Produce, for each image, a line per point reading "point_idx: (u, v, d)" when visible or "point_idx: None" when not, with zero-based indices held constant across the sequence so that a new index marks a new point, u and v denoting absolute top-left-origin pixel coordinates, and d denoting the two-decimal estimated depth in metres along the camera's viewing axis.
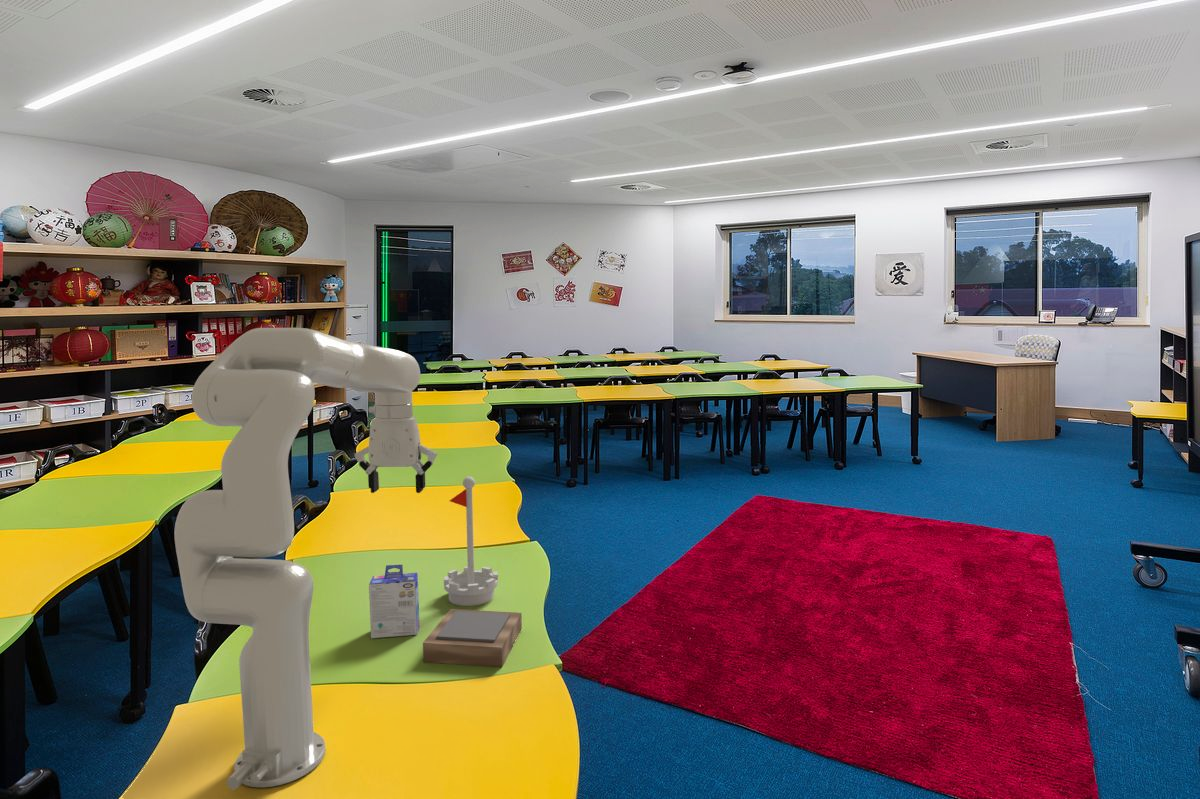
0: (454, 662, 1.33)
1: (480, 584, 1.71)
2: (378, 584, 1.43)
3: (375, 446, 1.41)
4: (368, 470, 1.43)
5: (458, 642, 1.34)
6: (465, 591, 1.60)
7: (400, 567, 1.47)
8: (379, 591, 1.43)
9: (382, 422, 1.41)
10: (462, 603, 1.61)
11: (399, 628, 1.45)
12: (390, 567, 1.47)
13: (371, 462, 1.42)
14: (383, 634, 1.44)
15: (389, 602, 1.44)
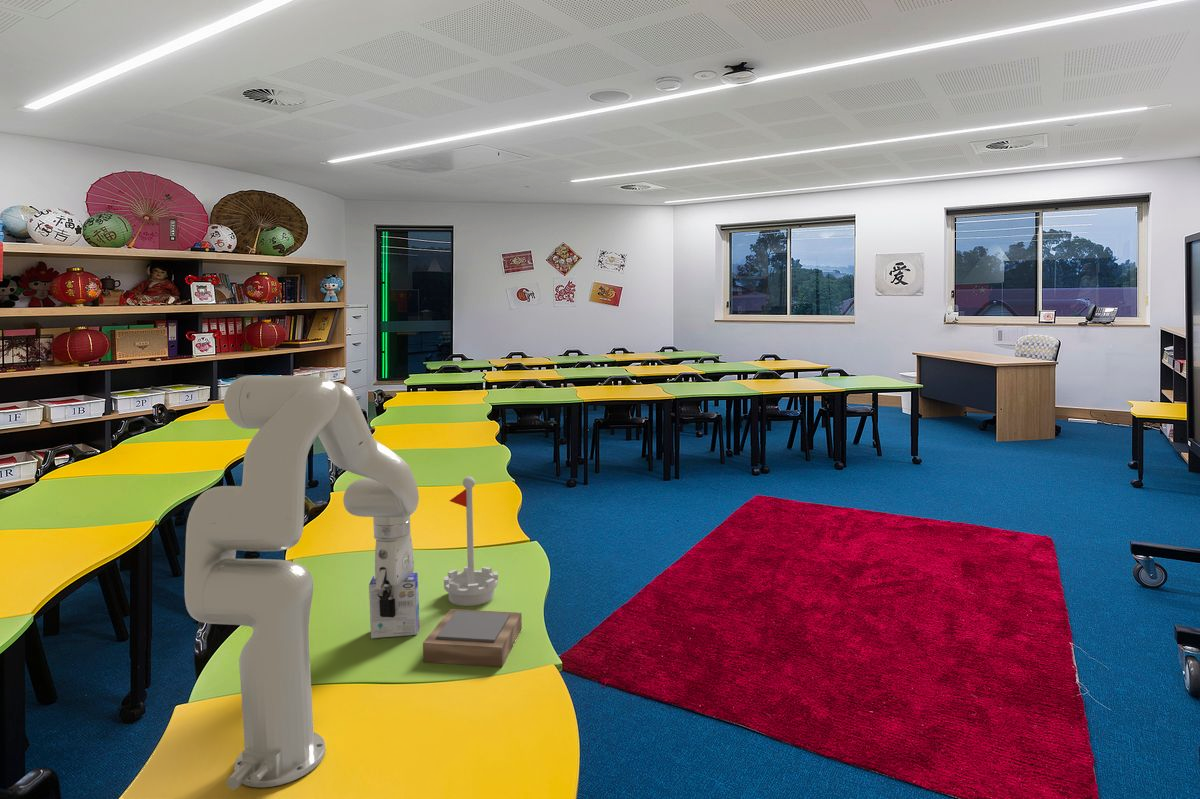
0: (454, 662, 1.33)
1: (480, 584, 1.71)
2: None
3: (398, 566, 1.42)
4: (391, 596, 1.42)
5: (458, 642, 1.34)
6: (465, 591, 1.60)
7: None
8: None
9: (400, 540, 1.43)
10: (462, 603, 1.61)
11: (399, 628, 1.45)
12: None
13: (397, 583, 1.41)
14: (383, 634, 1.44)
15: None
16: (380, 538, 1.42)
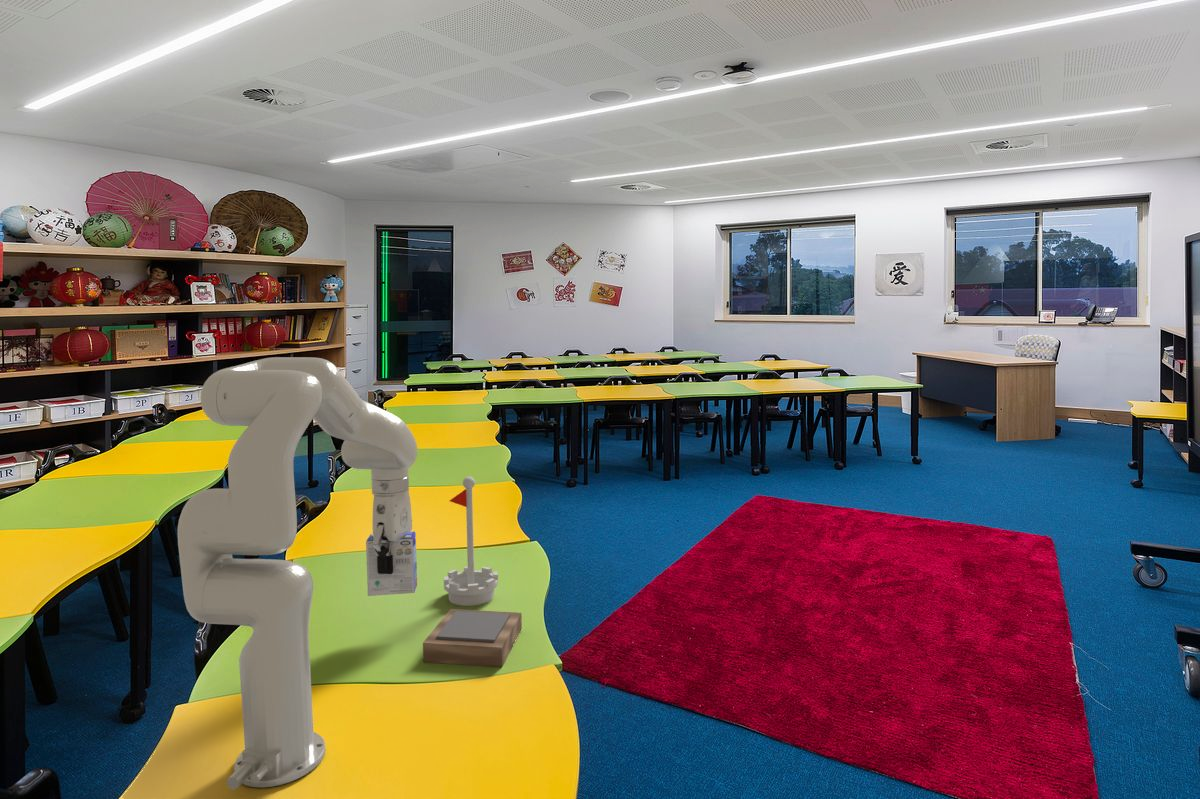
0: (454, 662, 1.33)
1: (480, 584, 1.71)
2: None
3: (396, 521, 1.41)
4: (389, 552, 1.41)
5: (458, 642, 1.34)
6: (465, 591, 1.60)
7: None
8: None
9: (399, 495, 1.42)
10: (462, 603, 1.61)
11: (397, 586, 1.43)
12: None
13: (395, 539, 1.40)
14: (380, 592, 1.43)
15: None
16: (378, 493, 1.40)
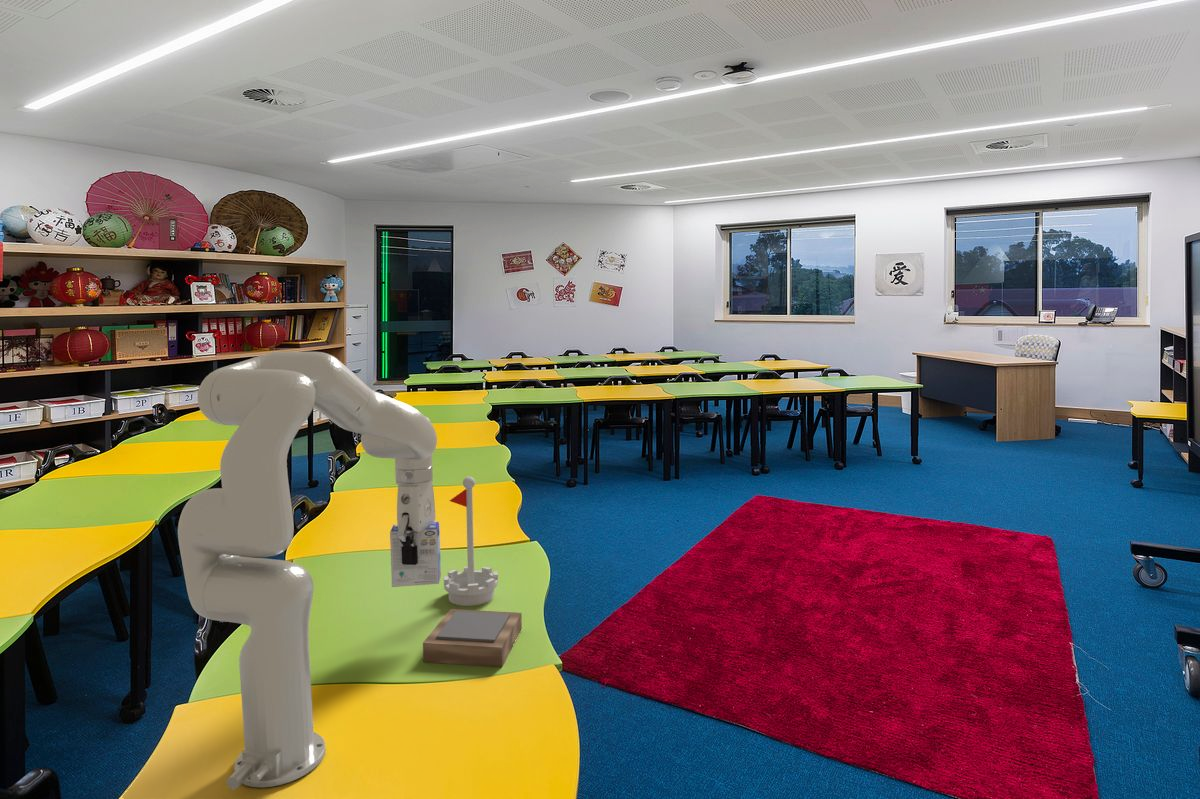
0: (454, 662, 1.33)
1: (480, 584, 1.71)
2: None
3: (421, 511, 1.39)
4: (413, 542, 1.39)
5: (458, 642, 1.34)
6: (465, 591, 1.60)
7: None
8: None
9: (423, 485, 1.40)
10: (462, 603, 1.61)
11: (421, 577, 1.41)
12: None
13: (420, 529, 1.38)
14: (405, 583, 1.41)
15: None
16: (402, 483, 1.38)
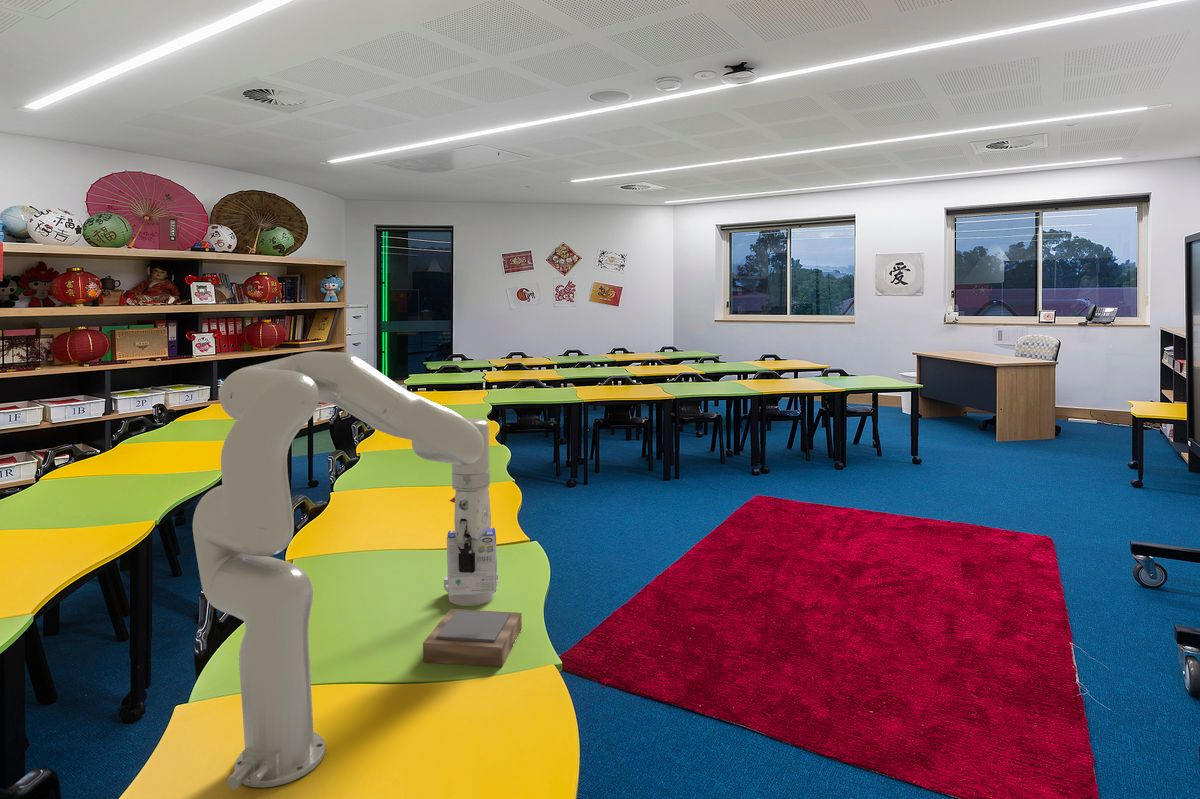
0: (454, 662, 1.33)
1: None
2: None
3: (479, 517, 1.34)
4: (471, 549, 1.34)
5: (458, 642, 1.34)
6: None
7: None
8: None
9: (481, 491, 1.35)
10: (462, 603, 1.61)
11: (478, 585, 1.37)
12: None
13: (478, 536, 1.34)
14: (461, 591, 1.37)
15: None
16: (460, 488, 1.34)
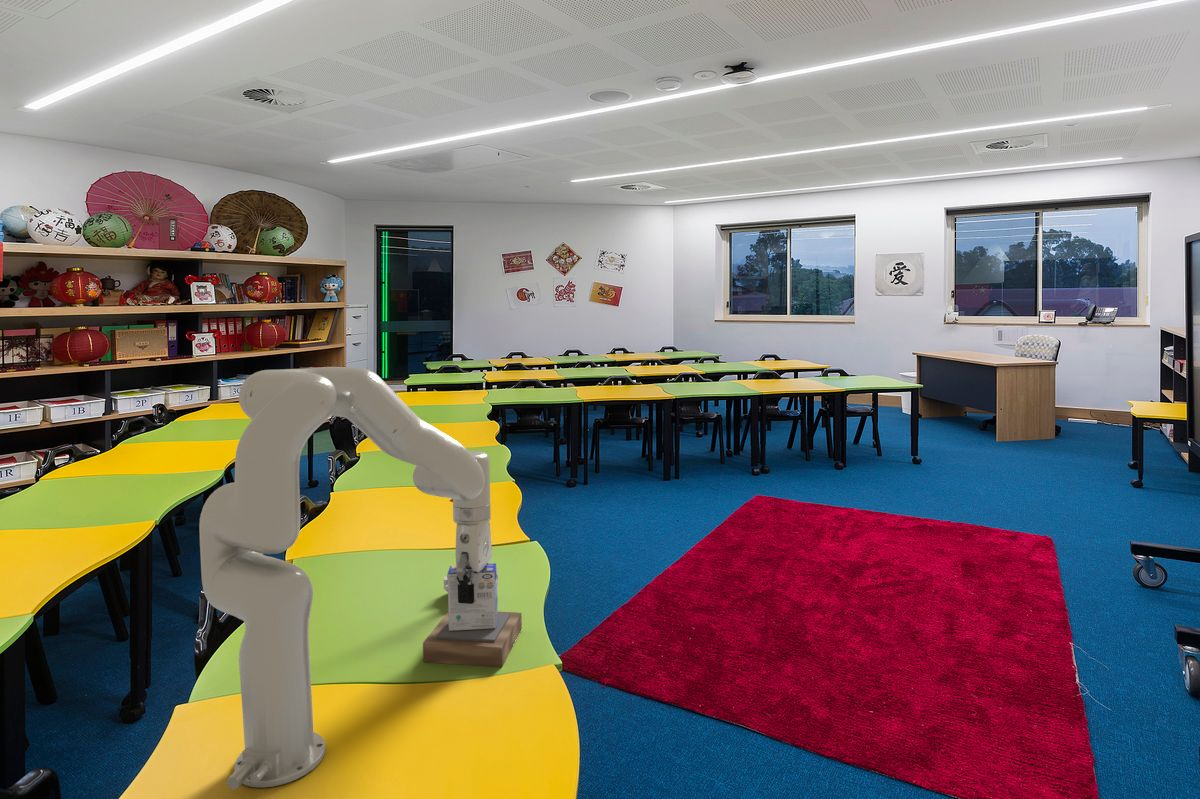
0: (454, 662, 1.33)
1: None
2: None
3: (480, 550, 1.35)
4: (470, 581, 1.34)
5: (458, 642, 1.34)
6: None
7: None
8: None
9: (482, 523, 1.36)
10: None
11: (478, 621, 1.38)
12: None
13: (479, 569, 1.35)
14: (462, 627, 1.38)
15: None
16: (461, 521, 1.35)
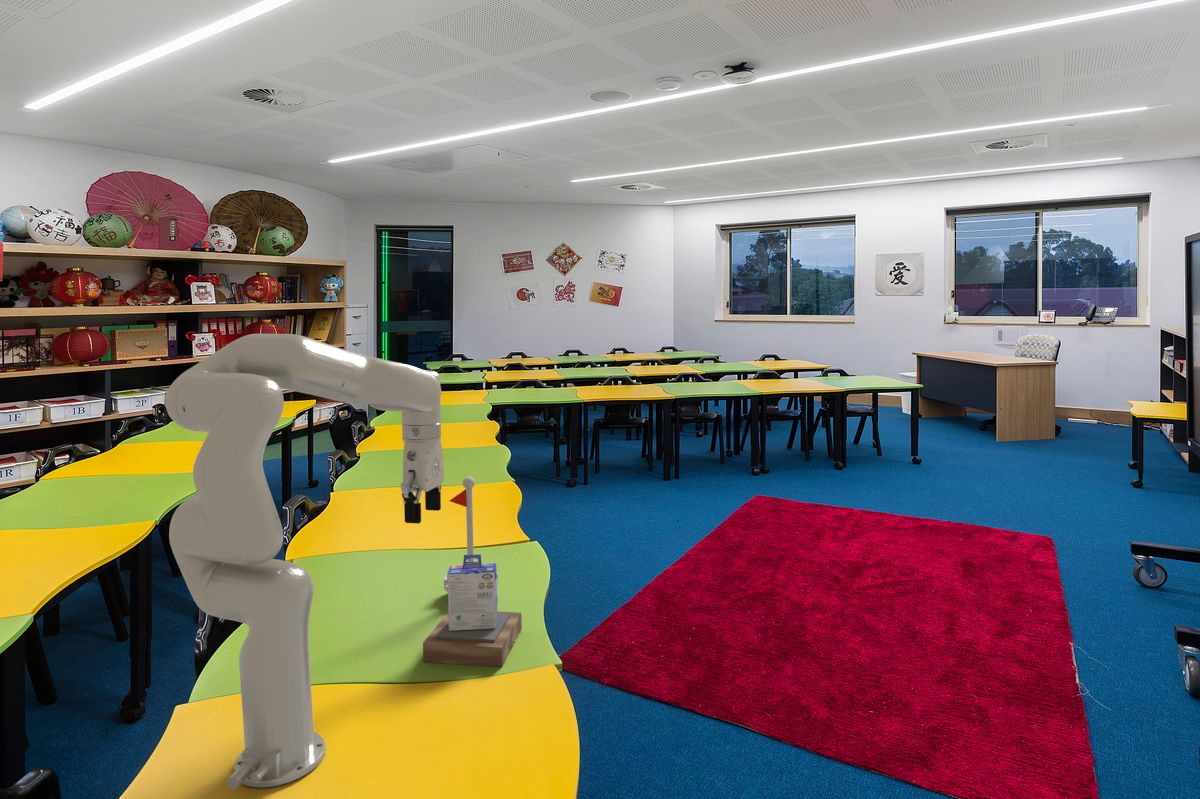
0: (454, 662, 1.33)
1: None
2: (457, 574, 1.37)
3: (428, 469, 1.32)
4: (417, 499, 1.31)
5: (458, 642, 1.34)
6: None
7: (479, 557, 1.40)
8: (458, 581, 1.37)
9: (430, 442, 1.33)
10: None
11: (478, 621, 1.38)
12: (468, 557, 1.40)
13: (426, 488, 1.32)
14: (462, 627, 1.38)
15: (468, 593, 1.37)
16: (409, 439, 1.32)
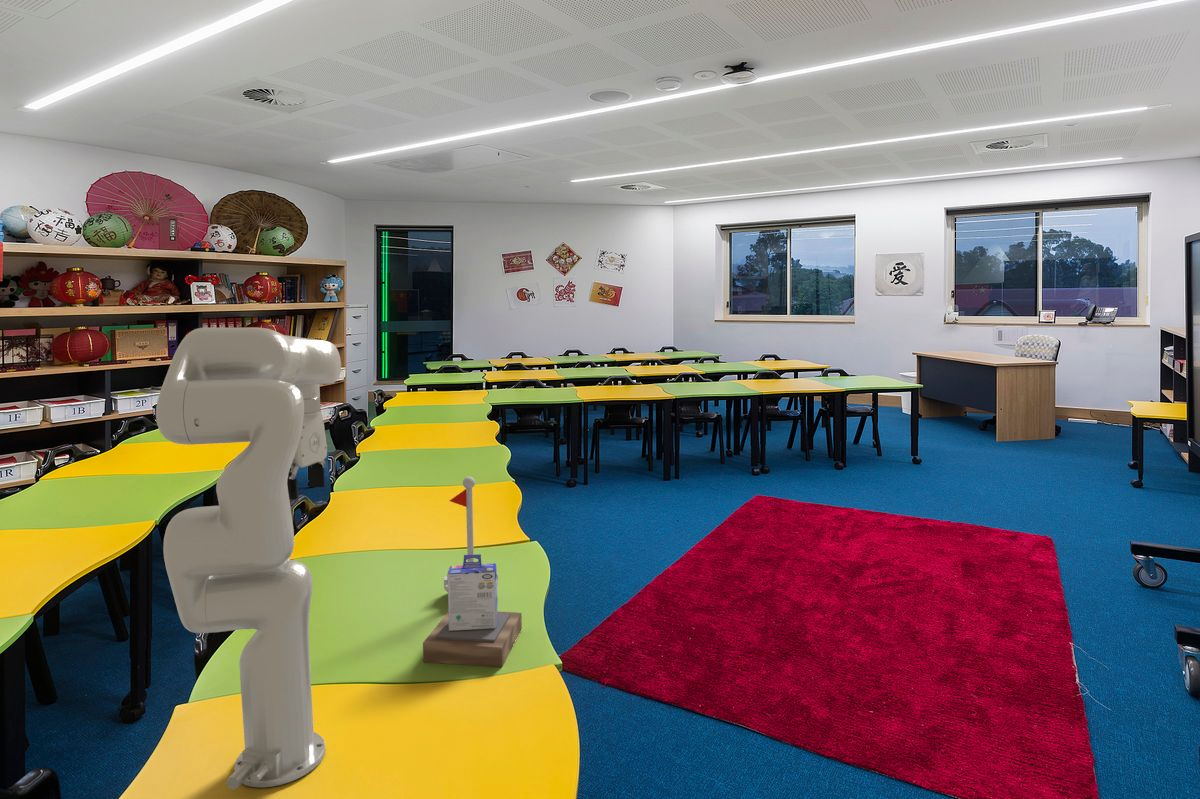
0: (454, 662, 1.33)
1: None
2: (457, 574, 1.37)
3: (304, 444, 1.30)
4: (292, 475, 1.28)
5: (458, 642, 1.34)
6: None
7: (478, 557, 1.40)
8: (458, 581, 1.37)
9: (307, 417, 1.31)
10: None
11: (478, 621, 1.38)
12: (468, 557, 1.40)
13: (302, 463, 1.29)
14: (462, 627, 1.38)
15: (468, 593, 1.37)
16: None
